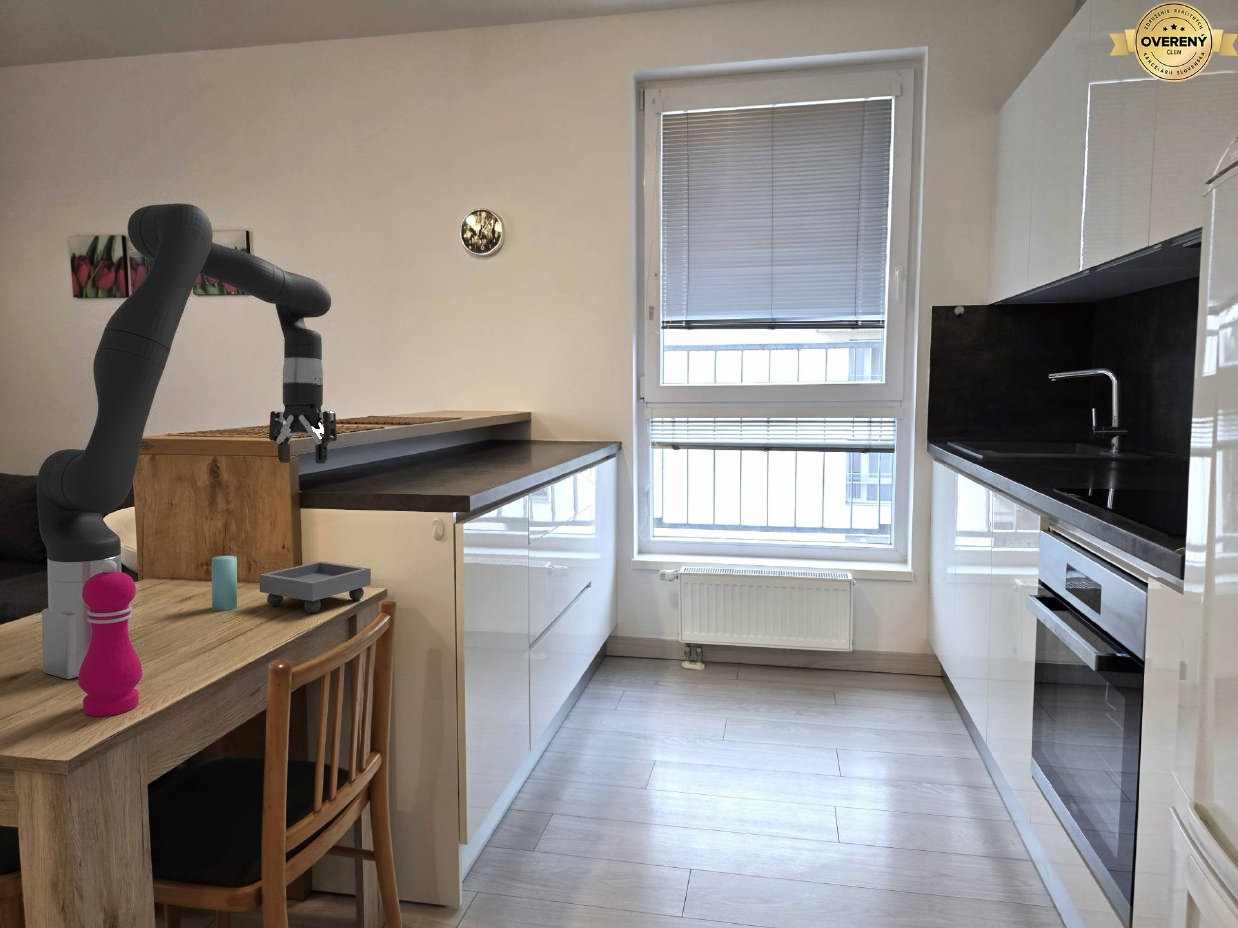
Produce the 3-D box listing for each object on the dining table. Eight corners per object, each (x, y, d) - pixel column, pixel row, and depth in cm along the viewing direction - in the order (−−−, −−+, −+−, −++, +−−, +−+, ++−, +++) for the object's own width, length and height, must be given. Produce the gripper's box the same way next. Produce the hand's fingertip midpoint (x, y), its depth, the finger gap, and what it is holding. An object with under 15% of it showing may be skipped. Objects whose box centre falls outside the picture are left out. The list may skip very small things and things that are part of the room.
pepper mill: (67, 711, 105) (63, 561, 103) (122, 694, 111) (120, 553, 110) (98, 722, 101) (96, 568, 100) (154, 704, 108) (152, 559, 106)
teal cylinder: (222, 612, 154) (222, 561, 153) (207, 608, 156) (206, 558, 155) (242, 607, 158) (241, 557, 157) (226, 604, 160) (226, 554, 159)
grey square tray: (312, 616, 153) (312, 583, 152) (259, 606, 158) (259, 574, 158) (370, 599, 167) (370, 568, 167) (320, 590, 173) (320, 561, 172)
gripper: (260, 381, 158) (259, 462, 158) (321, 380, 154) (320, 463, 154) (286, 384, 165) (285, 462, 165) (345, 383, 161) (344, 463, 161)
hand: (302, 463), depth 160 cm, fingers open, 8 cm apart
